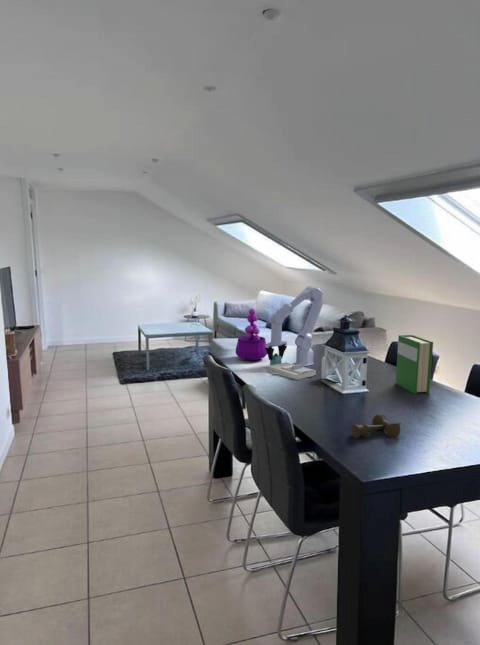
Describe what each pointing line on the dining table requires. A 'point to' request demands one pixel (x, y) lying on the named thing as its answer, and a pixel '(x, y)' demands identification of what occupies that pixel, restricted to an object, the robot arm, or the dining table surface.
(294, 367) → the shutter
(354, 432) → the kendama
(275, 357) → the plug
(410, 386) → the hardback book
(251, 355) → the decorative plant
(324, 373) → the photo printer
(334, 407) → the dining table surface
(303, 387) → the dining table surface
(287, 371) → the socket plate
